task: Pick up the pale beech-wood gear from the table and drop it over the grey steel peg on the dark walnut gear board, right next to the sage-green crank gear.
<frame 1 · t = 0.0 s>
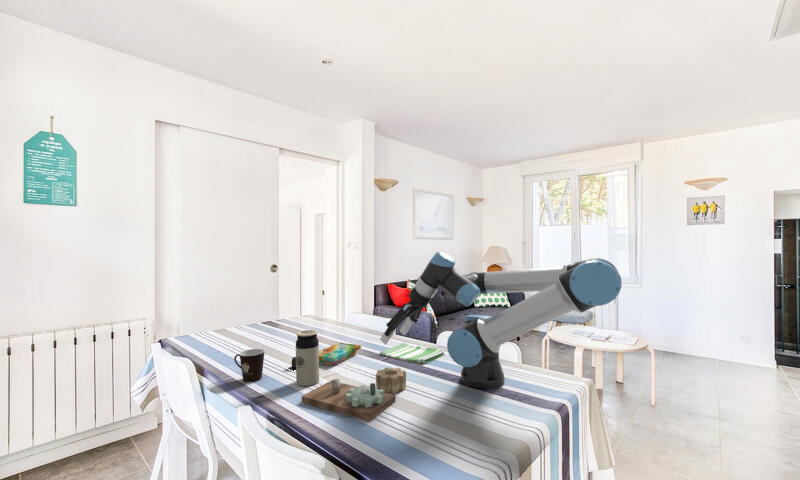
hand: (393, 337, 131), 15 cm above the table, tool tilted 35°, fingers open, 13 cm apart
puzzle game: (337, 359, 156), on the table
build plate: (298, 368, 145), on the table
gear board: (348, 402, 112), on the table
coffee mug: (250, 378, 134), on the table
travel mug: (307, 382, 129), on the table
beech gear: (391, 387, 123), on the table
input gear: (365, 390, 109), point 5 cm above the table, hinge at 0.0°
dish towel: (412, 356, 159), on the table
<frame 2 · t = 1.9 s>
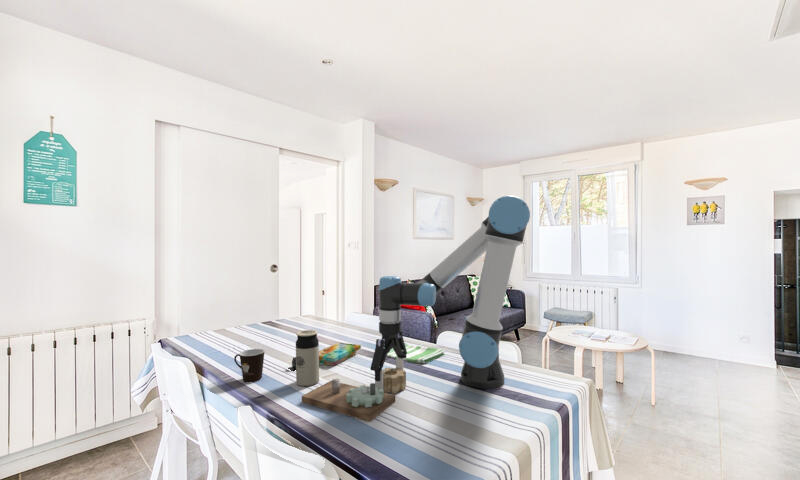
hand: (389, 383, 124), 1 cm above the table, tool pointing down, fingers open, 13 cm apart
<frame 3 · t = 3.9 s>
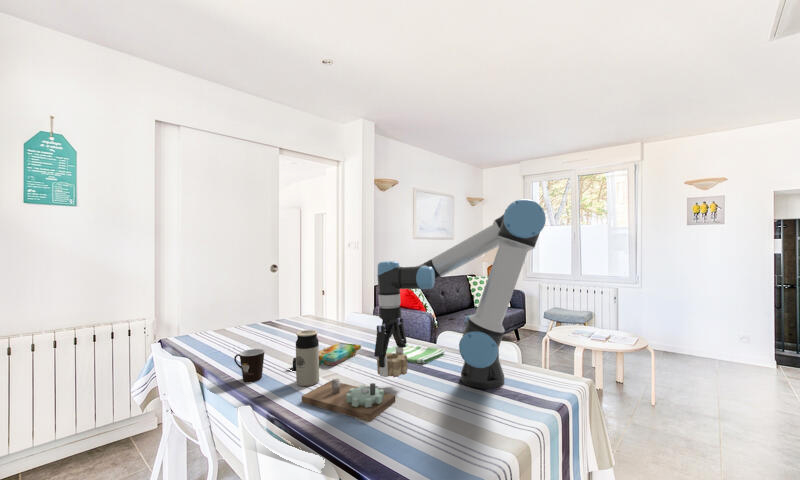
hand: (392, 370, 123), 6 cm above the table, tool pointing down, fingers closed on beech gear, 10 cm apart
beech gear: (392, 371, 123), point 5 cm above the table, touching gripper
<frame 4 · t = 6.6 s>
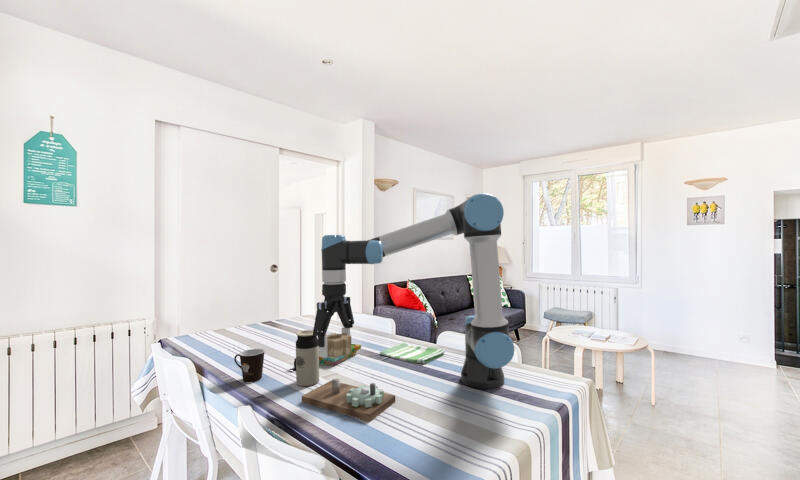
hand: (335, 352, 115), 15 cm above the table, tool pointing down, fingers closed on beech gear, 10 cm apart
beech gear: (335, 352, 115), point 15 cm above the table, touching gripper
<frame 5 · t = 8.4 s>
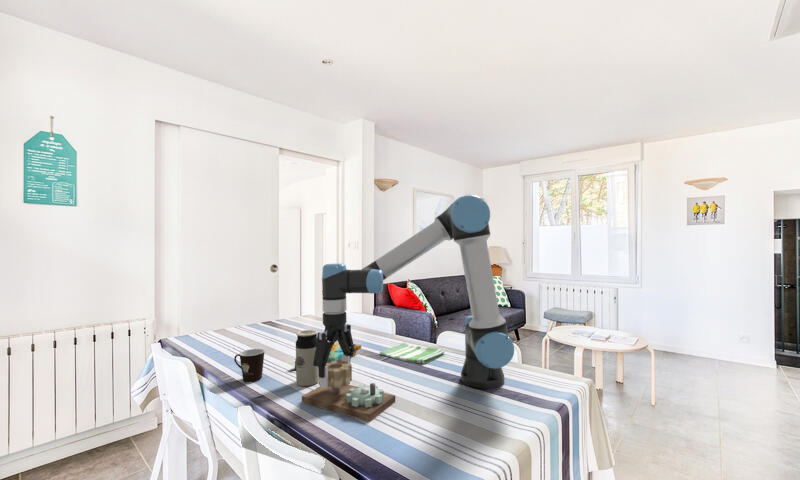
hand: (335, 381, 115), 6 cm above the table, tool pointing down, fingers closed on beech gear, 10 cm apart
beech gear: (335, 381, 115), point 5 cm above the table, touching gripper
when the fingers open (3 cm above the table, at t = 9.6 s): beech gear drops 1 cm, resting on gear board.
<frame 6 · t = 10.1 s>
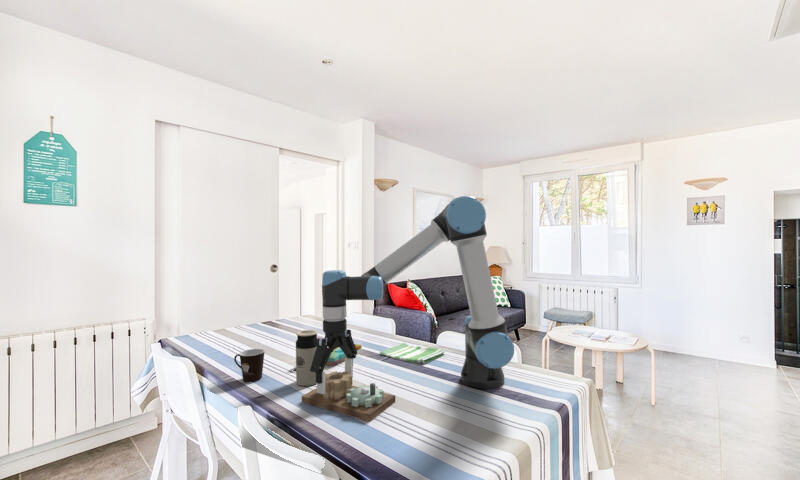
hand: (335, 385, 115), 4 cm above the table, tool pointing down, fingers open, 13 cm apart
beech gear: (336, 392, 115), point 2 cm above the table, touching gear board
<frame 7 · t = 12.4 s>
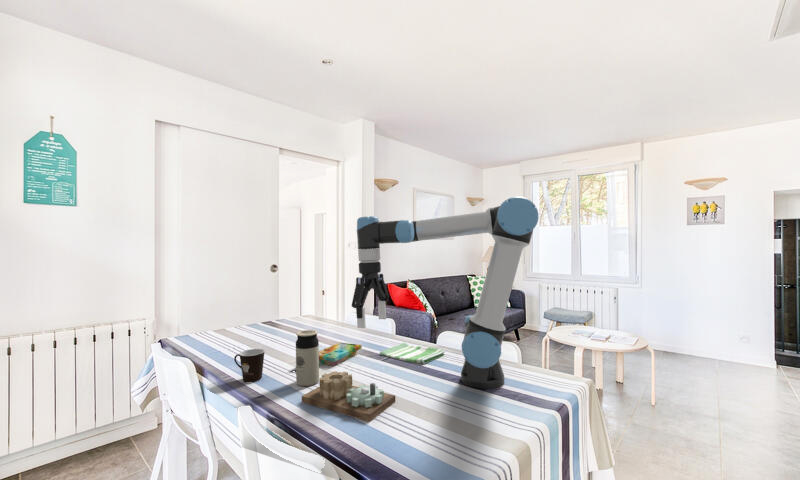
hand: (372, 323, 123), 22 cm above the table, tool pointing down, fingers open, 13 cm apart
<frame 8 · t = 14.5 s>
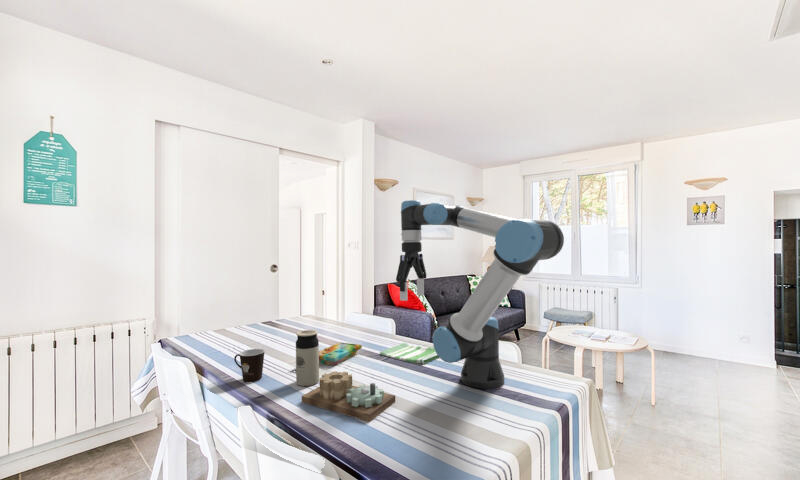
hand: (412, 297, 136), 29 cm above the table, tool pointing down, fingers open, 13 cm apart
at the end: beech gear 0.1 cm from the target spot on the gear board, point 2.0 cm above the gear board's base; beech gear tilted 0°; the gripper is holding nothing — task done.
